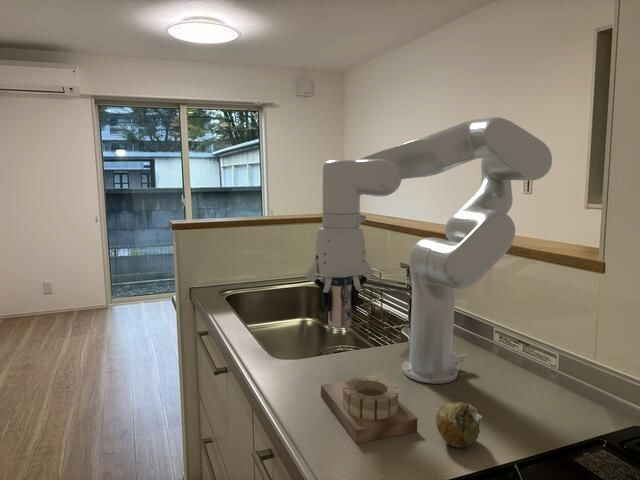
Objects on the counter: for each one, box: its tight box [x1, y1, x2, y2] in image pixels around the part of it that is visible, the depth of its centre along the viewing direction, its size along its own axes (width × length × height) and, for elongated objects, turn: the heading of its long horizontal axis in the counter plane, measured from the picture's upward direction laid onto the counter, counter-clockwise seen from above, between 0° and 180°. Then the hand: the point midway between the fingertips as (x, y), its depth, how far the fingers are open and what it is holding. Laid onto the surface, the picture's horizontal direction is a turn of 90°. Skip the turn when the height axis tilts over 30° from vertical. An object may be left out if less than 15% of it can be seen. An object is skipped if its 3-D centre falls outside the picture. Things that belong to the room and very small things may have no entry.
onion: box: [435, 401, 485, 449], centre depth 82 cm, size 8×8×8 cm
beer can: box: [327, 274, 352, 329], centre depth 98 cm, size 5×5×12 cm
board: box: [320, 375, 419, 444], centre depth 91 cm, size 12×18×6 cm, turn 20°
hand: (340, 307), depth 99 cm, fingers closed on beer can, 4 cm apart
